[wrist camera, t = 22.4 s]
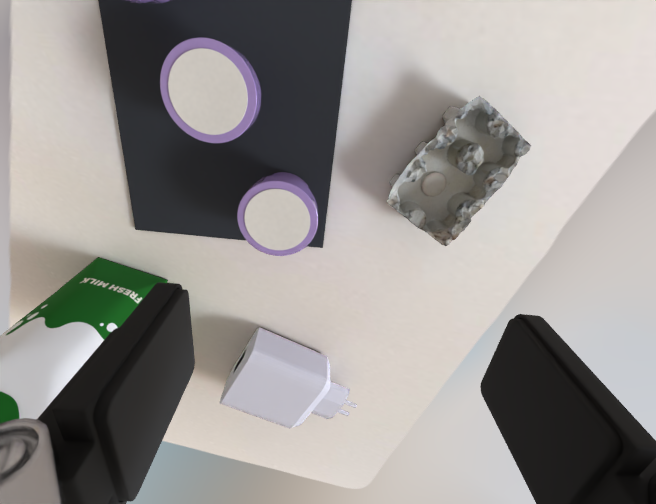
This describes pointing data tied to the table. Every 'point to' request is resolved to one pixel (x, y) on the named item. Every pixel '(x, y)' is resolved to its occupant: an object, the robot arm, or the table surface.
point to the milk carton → (65, 335)
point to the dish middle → (210, 90)
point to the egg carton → (457, 170)
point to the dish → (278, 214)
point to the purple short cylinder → (144, 0)
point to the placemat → (259, 140)
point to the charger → (283, 382)
